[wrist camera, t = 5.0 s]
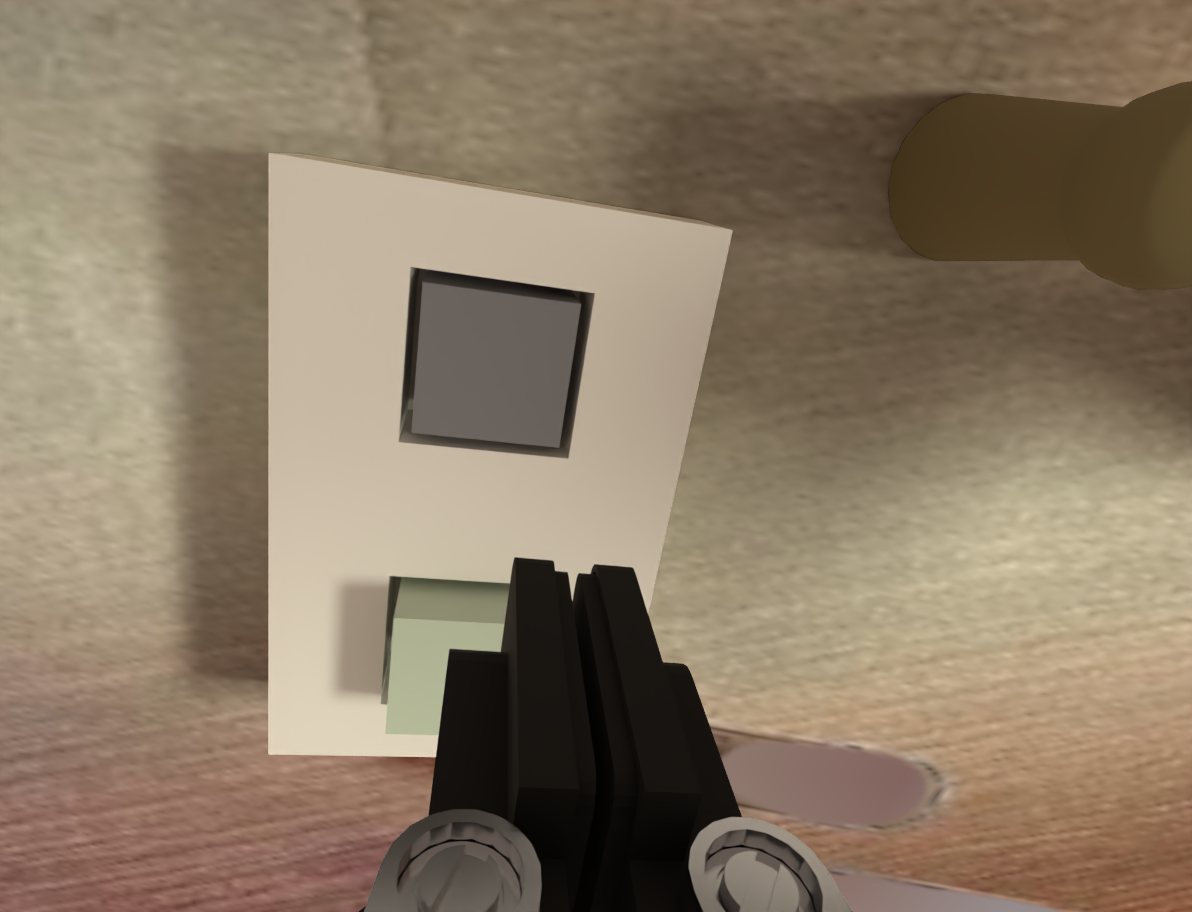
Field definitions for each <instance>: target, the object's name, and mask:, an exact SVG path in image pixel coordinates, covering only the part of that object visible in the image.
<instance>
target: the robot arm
mask: <svg viewBox="0 0 1192 912" xmlns="http://www.w3.org/2000/svg"><path fill="white" fill-rule="evenodd" d="M359 912H852V910H851V908H850V907H849V905H848V903H847V902H846V900H845V898H844V897H843V895H842V893H841V892H840V890H839V888H838V887H837V885H836V883H835V882H834V880H833V879H832V877H831V875H830V873H829V872H828V870H827V869H826V868H825V866H824V865H823V864H822V862H821V861H820V860H819V858H818V857H817V856H816V855H815V853H814V852H813V851H812V850H811V849H810V848H808V847H807V846H806V845H805V844H804V843H803V842H801V841H800V840H799V839H798V838H797V837H796V836H794V835H793V834H791V833H789V832H787V831H785V830H783V829H782V828H780V827H778V826H776V825H774V824H772V823H768V822H765V821H761V820H758V819H755V818H747V817H742V816H741V813H740V810H739V808H738V805H737V802H736V799H735V796H734V793H733V791H732V788H731V785H730V782H729V779H728V777H727V774H726V771H725V768H724V765H723V762H722V760H721V757H720V754H719V751H718V748H717V745H716V743H715V740H714V737H713V734H712V731H711V729H710V726H709V723H708V720H707V717H706V714H705V712H704V709H703V706H702V703H701V700H700V698H699V695H698V692H697V689H696V686H695V683H694V681H693V678H692V675H691V673H690V671H689V669H688V667H687V666H686V665H684V664H679V663H664V662H662V658H661V655H660V652H659V648H658V645H657V642H656V639H655V635H654V632H653V629H652V626H651V622H650V619H649V616H648V613H647V609H646V606H645V603H644V599H643V596H642V593H641V590H640V586H639V583H638V580H637V577H636V573H635V571H634V569H633V568H632V567H623V566H611V565H599V564H594V565H593V567H592V570H591V574H585V573H579V574H578V576H577V579H576V584H575V589H574V595H573V601H572V597H571V590H570V583H569V576H568V572H561V571H555V566H554V561H553V560H541V559H530V558H518V557H514V561H513V566H512V573H511V580H510V587H509V594H508V602H507V609H506V616H505V623H504V631H503V638H502V645H501V652H494V651H478V650H463V649H449V655H448V663H447V671H446V679H445V687H444V695H443V704H442V712H441V720H440V728H439V736H438V744H437V752H436V760H435V768H434V776H433V784H432V793H431V801H430V809H429V816H427V817H425V818H423V819H421V820H420V821H418V822H416V823H414V824H412V825H410V826H409V827H408V828H407V829H406V830H405V831H404V832H403V833H402V834H401V835H400V836H399V837H398V838H397V839H396V840H395V841H393V843H392V844H391V846H390V848H389V850H388V852H387V853H386V855H385V857H384V859H383V861H382V863H381V865H380V868H379V871H378V873H377V876H376V879H375V882H374V885H373V887H372V890H371V893H370V896H369V899H368V901H367V904H366V906H365V907H364V908H363V909H362V910H360V911H359Z"/></svg>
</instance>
